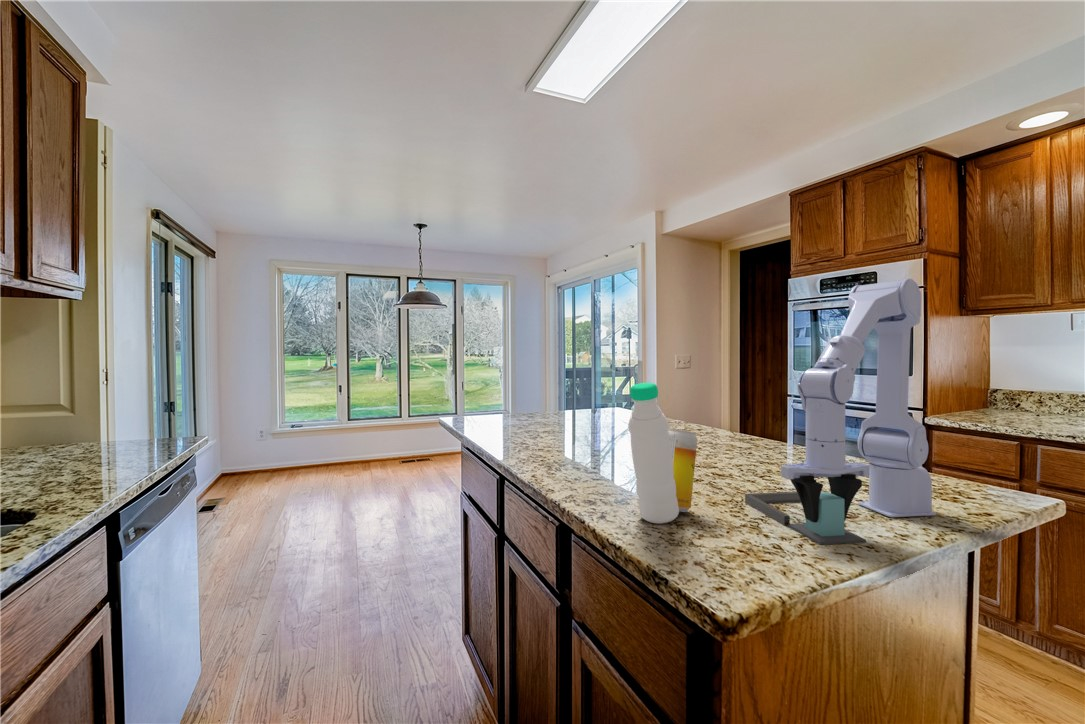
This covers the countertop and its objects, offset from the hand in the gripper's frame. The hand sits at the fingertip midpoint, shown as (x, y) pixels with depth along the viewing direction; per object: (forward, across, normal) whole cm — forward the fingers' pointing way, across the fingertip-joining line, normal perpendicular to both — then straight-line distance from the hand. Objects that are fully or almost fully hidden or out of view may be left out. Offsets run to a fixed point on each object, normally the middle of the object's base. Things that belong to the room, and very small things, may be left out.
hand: (825, 519), depth 78 cm
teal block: (+2, 0, 0) cm, 2 cm away
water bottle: (+2, +25, -10) cm, 27 cm away
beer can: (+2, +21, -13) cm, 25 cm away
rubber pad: (+2, 0, 0) cm, 2 cm away
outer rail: (+3, -2, -11) cm, 12 cm away
